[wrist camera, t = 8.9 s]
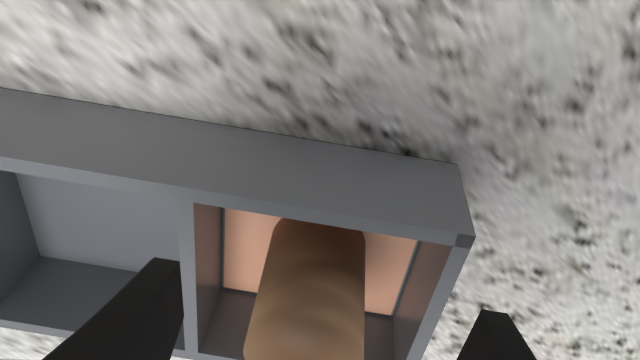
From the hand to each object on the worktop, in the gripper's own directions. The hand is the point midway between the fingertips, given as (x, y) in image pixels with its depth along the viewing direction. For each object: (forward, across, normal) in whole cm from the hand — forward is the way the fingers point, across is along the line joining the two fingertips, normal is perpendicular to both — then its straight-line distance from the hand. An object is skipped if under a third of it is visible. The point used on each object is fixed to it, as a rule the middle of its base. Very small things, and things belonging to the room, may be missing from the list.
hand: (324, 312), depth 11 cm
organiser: (+9, +5, +6) cm, 12 cm away
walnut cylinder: (+9, 0, +6) cm, 10 cm away
